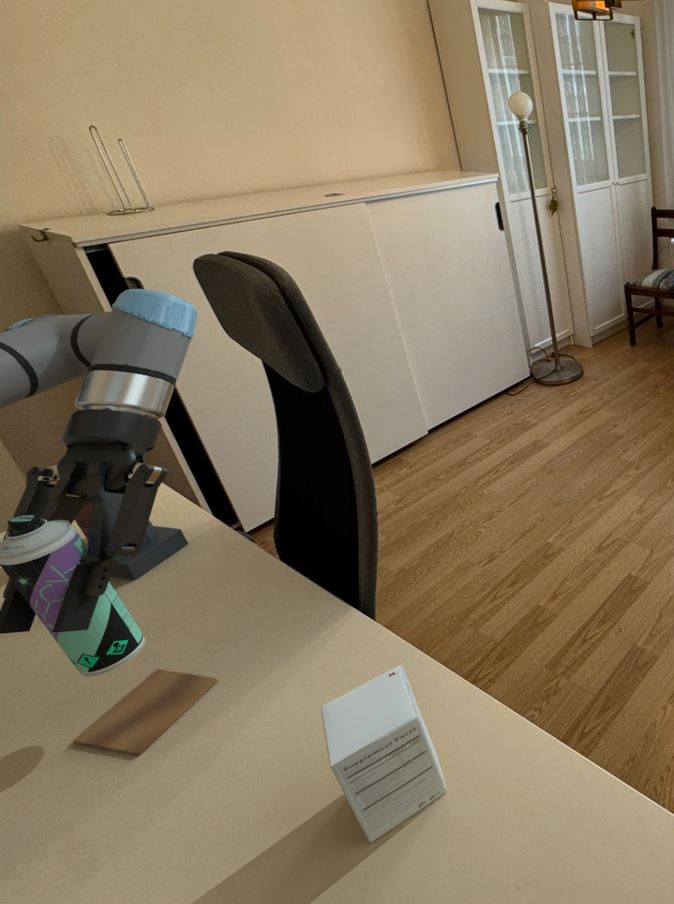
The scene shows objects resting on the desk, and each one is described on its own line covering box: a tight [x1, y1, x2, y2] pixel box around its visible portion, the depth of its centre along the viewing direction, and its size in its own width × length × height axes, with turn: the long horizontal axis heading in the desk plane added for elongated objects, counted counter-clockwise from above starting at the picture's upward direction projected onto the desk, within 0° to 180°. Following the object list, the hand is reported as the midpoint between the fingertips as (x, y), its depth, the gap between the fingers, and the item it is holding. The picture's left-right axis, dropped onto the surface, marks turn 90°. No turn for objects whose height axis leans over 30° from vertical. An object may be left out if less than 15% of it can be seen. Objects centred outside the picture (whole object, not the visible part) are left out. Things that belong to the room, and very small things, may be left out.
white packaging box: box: [320, 664, 448, 844], centre depth 55 cm, size 7×7×13 cm
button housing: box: [104, 520, 189, 581], centre depth 89 cm, size 10×8×5 cm
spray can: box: [0, 513, 146, 677], centre depth 60 cm, size 6×6×20 cm
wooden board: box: [72, 668, 219, 756], centre depth 66 cm, size 9×9×1 cm
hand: (40, 631), depth 57 cm, fingers closed on spray can, 5 cm apart
